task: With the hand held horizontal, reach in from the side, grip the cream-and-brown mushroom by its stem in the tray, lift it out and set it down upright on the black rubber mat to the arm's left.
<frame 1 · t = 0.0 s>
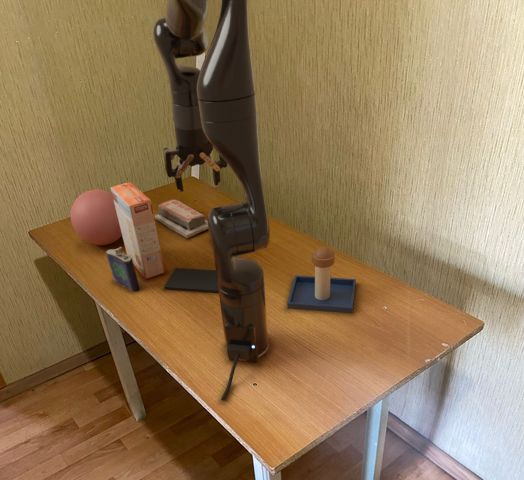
hand: (198, 186, 127), 22 cm above the table, tool pointing down, fingers open, 8 cm apart
flask: (127, 285, 138), on the table
tray: (322, 296, 129), on the table
packaged product: (183, 224, 161), on the table
cracker box: (146, 265, 144), on the table
balloon: (112, 239, 157), on the table
mushroom: (322, 295, 128), resting on tray
mat: (207, 282, 136), on the table
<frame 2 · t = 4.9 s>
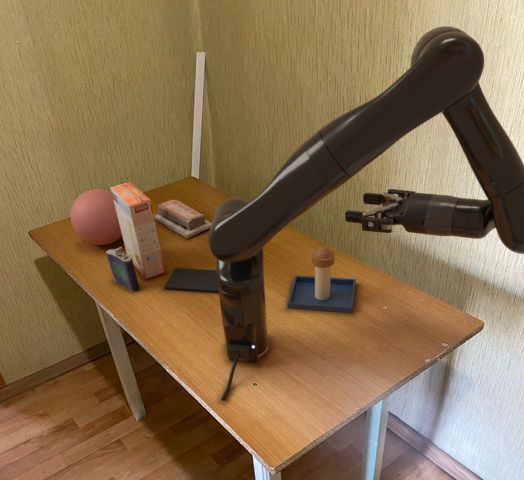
hand: (355, 206, 109), 25 cm above the table, tool horizontal, fingers open, 8 cm apart
nothing on the table moved.
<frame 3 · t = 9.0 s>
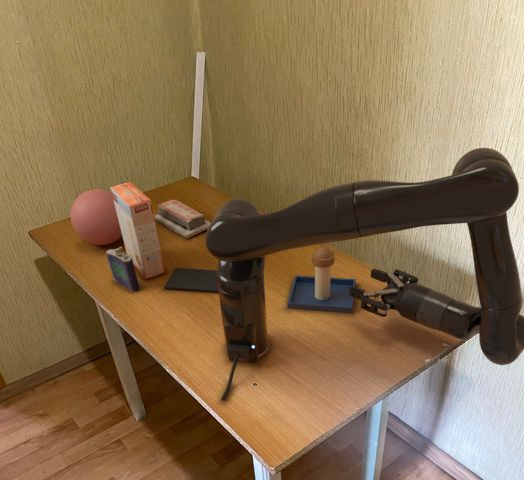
hand: (361, 281, 117), 9 cm above the table, tool horizontal, fingers open, 8 cm apart
nothing on the table moved.
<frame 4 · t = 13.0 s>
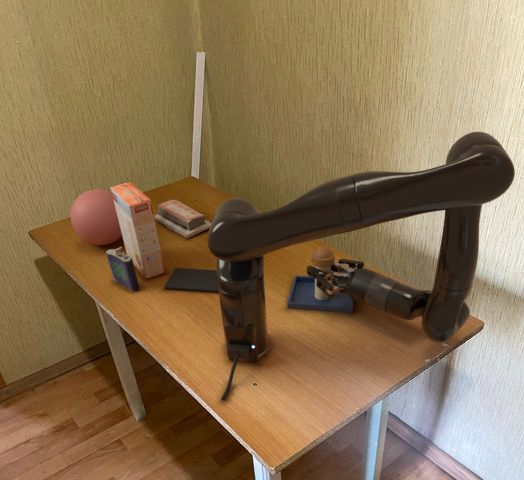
hand: (313, 265, 125), 8 cm above the table, tool horizontal, fingers closed on mushroom, 3 cm apart
mushroom: (322, 295, 128), resting on tray, touching gripper
everything else where it was.
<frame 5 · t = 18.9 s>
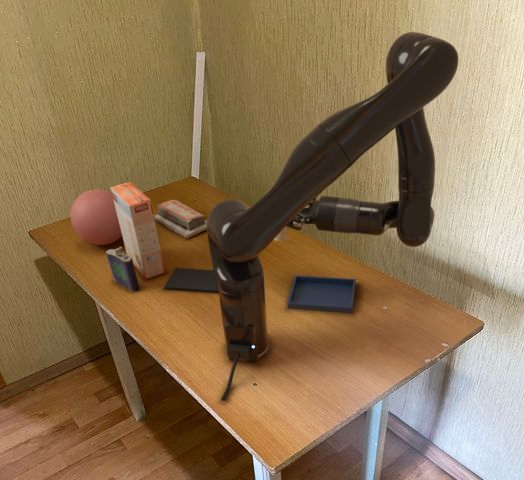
hand: (267, 207, 122), 20 cm above the table, tool horizontal, fingers closed on mushroom, 3 cm apart
mushroom: (279, 237, 126), point 12 cm above the table, touching gripper
everything else where it was.
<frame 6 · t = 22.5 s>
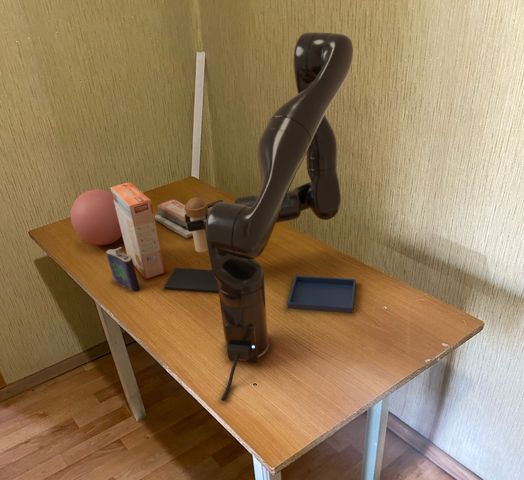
hand: (186, 223, 125), 17 cm above the table, tool horizontal, fingers closed on mushroom, 3 cm apart
mushroom: (202, 248, 130), point 10 cm above the table, touching gripper
everything else where it was.
when the fingers open (8 cm above the table, at t = 25.2 s): mushroom stays where it is, resting on mat.
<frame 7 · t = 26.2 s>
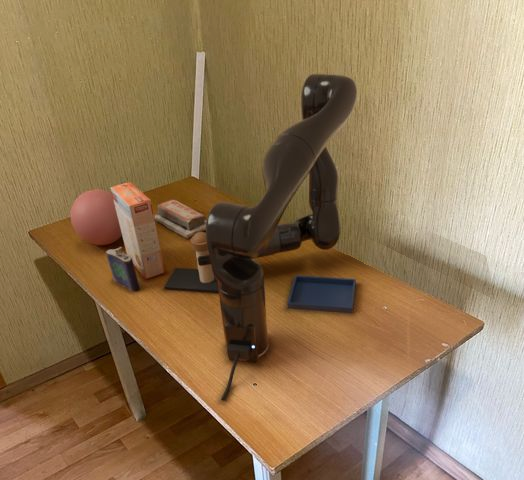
hand: (195, 252, 130), 9 cm above the table, tool horizontal, fingers open, 8 cm apart
mushroom: (207, 279, 136), point 1 cm above the table, touching mat
everything else where it was.
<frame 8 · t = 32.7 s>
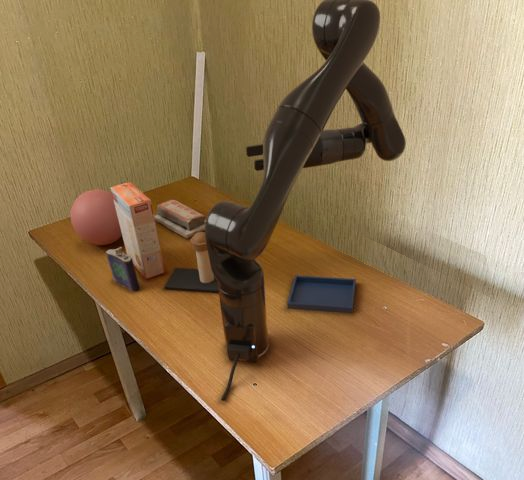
hand: (250, 158, 119), 30 cm above the table, tool horizontal, fingers open, 8 cm apart
nothing on the table moved.
at the end: mushroom inside the target area on the mat (0.1 cm from its centre), point 0.8 cm above the mat's base; mushroom tilted 0°; mushroom touching mat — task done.
